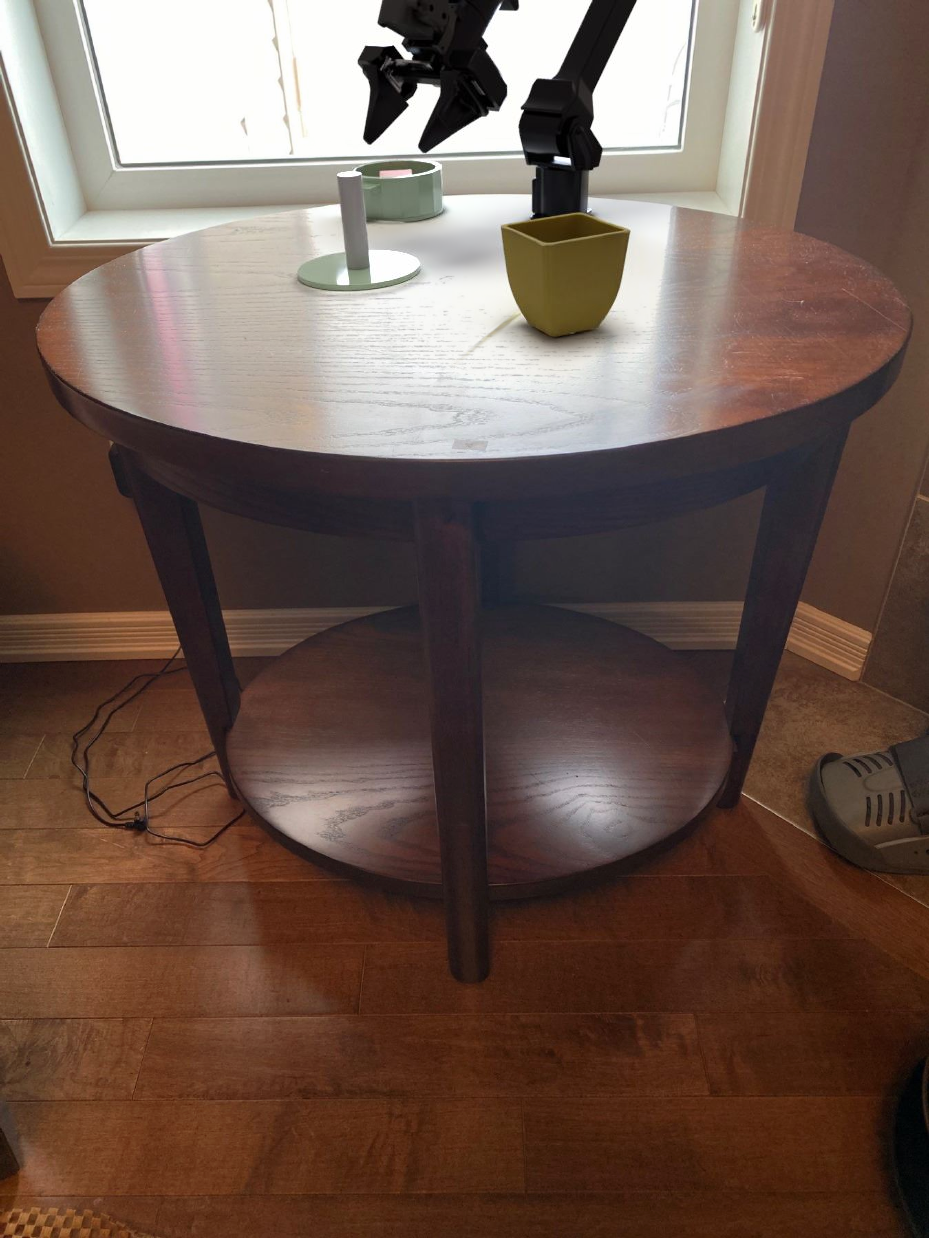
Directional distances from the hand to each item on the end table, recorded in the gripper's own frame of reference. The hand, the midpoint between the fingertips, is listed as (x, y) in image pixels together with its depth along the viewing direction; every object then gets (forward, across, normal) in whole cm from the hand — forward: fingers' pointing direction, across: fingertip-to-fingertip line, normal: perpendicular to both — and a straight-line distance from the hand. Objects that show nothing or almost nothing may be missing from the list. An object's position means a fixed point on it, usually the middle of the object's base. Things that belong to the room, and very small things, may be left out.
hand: (393, 146), depth 98 cm
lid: (+13, 0, +4) cm, 13 cm away
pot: (-3, -21, +21) cm, 29 cm away
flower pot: (+12, +28, +6) cm, 31 cm away
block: (-4, -20, +20) cm, 29 cm away
